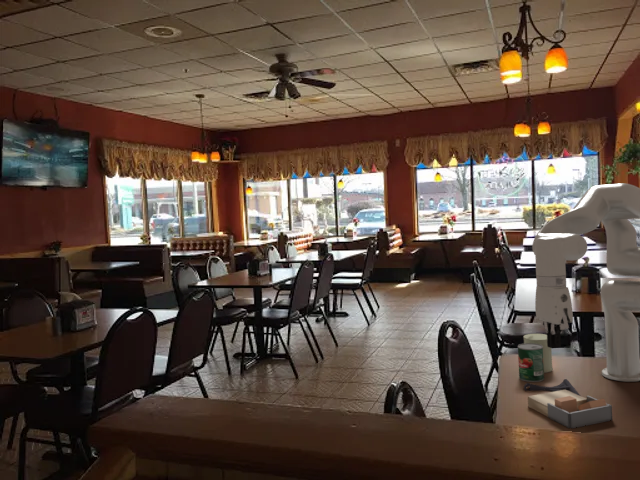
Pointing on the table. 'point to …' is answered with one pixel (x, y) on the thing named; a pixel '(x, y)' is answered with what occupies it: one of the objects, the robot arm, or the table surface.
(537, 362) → the canned tomato
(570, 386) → the bracket
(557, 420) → the bus tub
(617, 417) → the table surface
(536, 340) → the can
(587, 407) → the tile
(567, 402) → the tile
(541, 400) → the board
